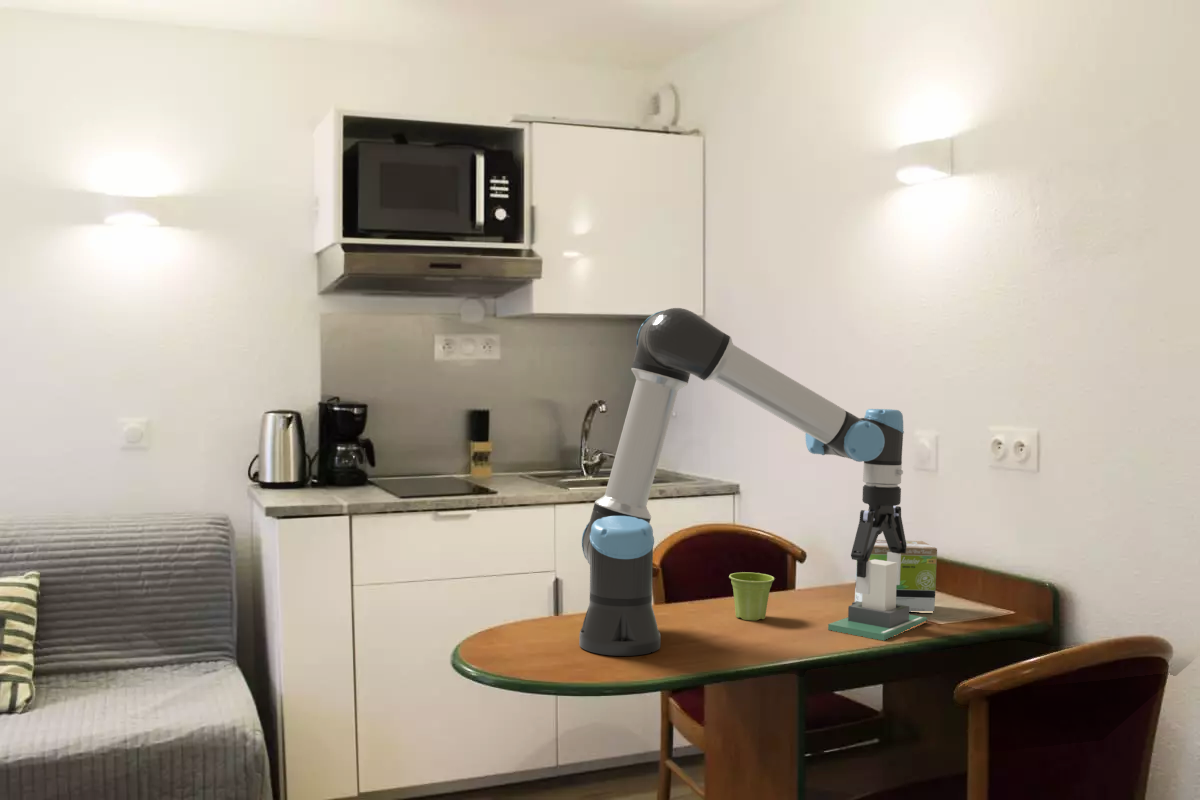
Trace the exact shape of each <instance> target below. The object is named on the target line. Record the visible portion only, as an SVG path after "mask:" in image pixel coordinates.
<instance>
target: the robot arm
mask: <svg viewBox="0 0 1200 800" xmlns="http://www.w3.org/2000/svg"><path fill="white" fill-rule="evenodd" d="M630 370H631V372H632V373H633V375H634V377H635V383H634V386H633V389H632V390H633V391H632V394H631V398H630V402H629V404H628V409H627V413H626V416H625V420H624V423H623V427H622V431H621V434H620V438H619V441H618V446H617V449H616V453H615V456H614V460H613V463H612V467H611V470H610V475H609V478H608V481H607V486H606V489H605V492H604V493H605V494H604V495H603V496H601V497H599V498H598V499H596V500H595V501H594V504H593V508H592V510H591V511H592V512H591V515H590V517H589V518H590V519H589V521H588V523H587V524H586V526H585V528H584V530H583V532H582V537H581V548H582V554H583V555H584V558H585V559H586V562H587V563H588V564H589V603H588V604H589V605H588V608H587V611H586V613H585V616H584V619H583V623H582V626H581V628H580V631H579V637H578V638H579V644H578V645H579V647H580V648H581V649H583V650H585V651H587V652H591V653H593V654H599V655H606V656H614V657H618V656H619V657H621V656H622V657H624V656H625V657H627V656H628V657H630V656H631V657H632V656H633V657H634V656H642V655H647V654H652V653H654V652H656V651H658V650H660V648H661V632H660V630H659V628H658V627H659V626H658V622H657V619H656V615H655V612H654V609H653V568H654V567H653V561H654V555H653V553H654V546H655V545H654V544H655V537H654V529H653V527H652V525H651V524H650V523H651V519H652V516H651V513H650V512H649V510H648V507H647V505H648V501H649V498H650V494H651V489H652V487H653V483H654V481H655V480H654V479H655V476H656V473H657V468H658V465H659V462H660V458H661V453H662V450H663V446H664V443H665V439H666V436H667V431H668V428H669V425H670V421H671V417H672V414H673V410H674V407H675V404H676V403H675V402H676V398H677V395H678V392H679V391H680V390H681V389H683V388H685V387H686V386H688V384H689V380H690V377H691V375H693V376H695V377H697V378H699V379H700V380H703V381H704V382H706V381H707V382H708V381H710V380H713V381H715V382H717V383H718V384H719V385H722V387H723V386H724V387H725V388H726V389H729V390H731V392H734V393H736V394H737V395H740V396H741V397H742V398H744V399H746V400H747V401H750V402H751V403H753V404H754V405H756V406H758V407H760V408H762V409H764V410H765V411H767V412H769V413H770V414H772V415H773V416H776V417H777V418H780V419H781V420H783V421H784V422H786V423H788V424H790V425H791V426H793V427H795V428H797V429H798V430H800V431H802V432H804V433H805V444H806V448H807V451H808V452H809V453H810V454H812V455H822V456H825V455H826V456H827V455H828V456H830V455H832V456H837V457H842V458H847V459H850V460H853V461H855V462H859V463H861V462H863V472H862V473H863V474H862V481H863V482H864V483H865V484H864V485H863V486H862V502H863V503H864V504H867V505H868V510H865V509H864V510H863V509H861V510H860V512H859V521H858V525H857V528H856V529H857V530H856V534H855V538H854V541H853V545H852V549H851V553H850V558H851V560H852V561H854V560H855V561H856V563H857V571H856V570H855V584H856V592H857V593H863V594H870V578H871V561H868V560H869V558H870V555H871V553H872V550H873V548H874V545H875V542H876V540H878V537H879V535H881V534H883V537H884V540H886V542H887V545H888V547H889V550H890V551H891V552H887V561H890V562H897V583H896V585H900V567H901V554H900V553H906V547H907V545H906V541H907V540H906V536H905V535H906V534H905V531H904V530H905V529H904V524H903V519H902V507H901V506H899V505H901V501H902V498H901V497H902V495H901V494H902V488H901V487H900V486H899V485H901V483H902V475H903V474H904V471H903V470H902V466H903V465H902V464H903V445H904V444H903V443H904V434H905V430H904V416H903V412H902V411H900V410H899V409H890V408H889V409H888V408H886V409H885V408H868V409H866V410H865V414H864V417H861V418H859V417H858V416H856V415H854V414H852V413H851V412H849V411H847V410H846V409H844V408H842V407H840V406H839V405H837V404H836V403H834V402H833V401H831V400H828V398H825V397H823V396H822V395H820V394H819V393H816V392H815V391H813V390H812V389H810V388H809V387H806V386H805V385H803V384H801V383H800V382H797V381H796V380H795V379H793V378H792V377H789V376H788V375H786V374H785V373H782V372H781V371H779V370H777V369H776V368H774V367H772V366H770V365H769V364H767V363H766V362H764V361H762V360H760V359H759V358H757V357H755V356H753V355H751V354H750V353H748V352H747V351H745V350H743V349H741V348H740V347H738V346H736V345H735V344H734V343H733V339H732V337H731V336H730V335H729V334H728V333H727V334H726V333H725V332H723V331H721V330H720V329H718V328H717V327H716V326H714V325H713V324H711V323H710V322H708V321H707V320H705V319H704V318H703V317H701V316H700V315H699V314H696V313H695V312H693V311H691V310H689V309H687V308H681V307H672V308H668V309H665V310H660V311H657V312H654V313H653V314H652V315H650V316H648V317H647V318H646V319H645V320H644V321H643V323H642V324H641V325H640V327H639V329H638V332H637V335H636V351H635V354H634V358H633V361H632V366H631V369H630ZM900 541H901V542H900ZM651 652H652V653H651Z"/></svg>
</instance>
